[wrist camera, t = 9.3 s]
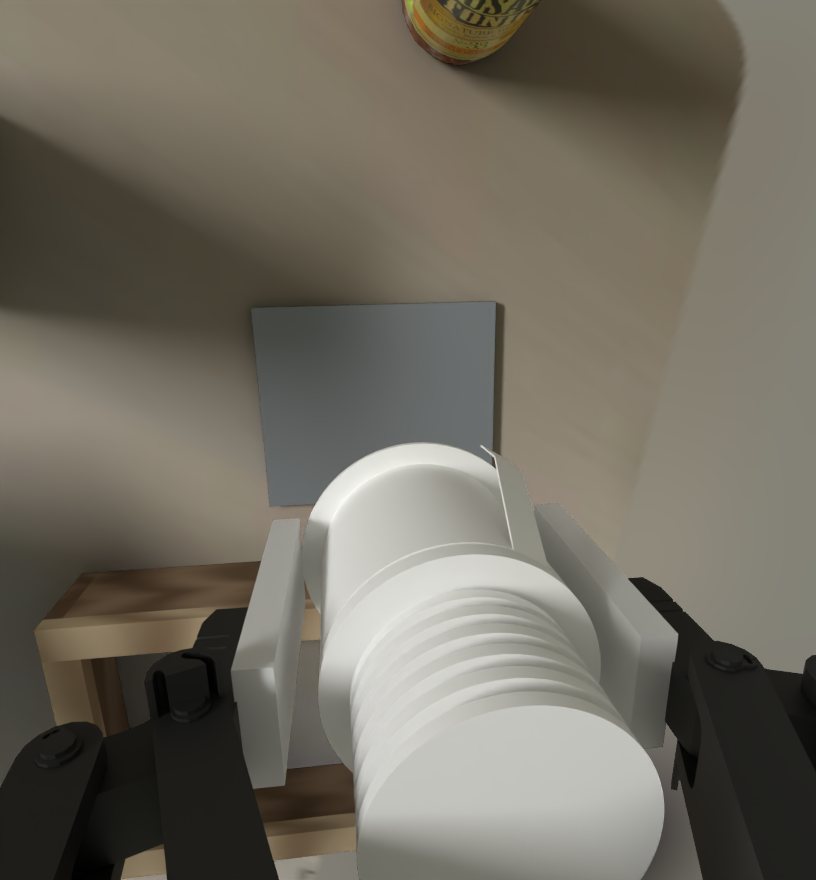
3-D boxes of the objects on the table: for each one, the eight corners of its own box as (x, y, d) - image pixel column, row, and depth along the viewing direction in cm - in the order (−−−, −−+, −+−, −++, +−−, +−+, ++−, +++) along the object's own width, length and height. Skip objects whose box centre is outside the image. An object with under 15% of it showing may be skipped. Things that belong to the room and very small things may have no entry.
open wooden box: (127, 797, 41) (93, 882, 36) (81, 573, 36) (33, 630, 31) (457, 762, 44) (474, 836, 38) (458, 547, 39) (479, 595, 33)
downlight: (445, 690, 19) (558, 1080, 10) (254, 608, 18) (164, 978, 8) (575, 491, 18) (848, 712, 9) (382, 383, 17) (455, 506, 7)
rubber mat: (270, 502, 36) (269, 506, 36) (252, 307, 33) (250, 308, 32) (489, 489, 38) (491, 493, 37) (493, 300, 34) (495, 301, 34)
